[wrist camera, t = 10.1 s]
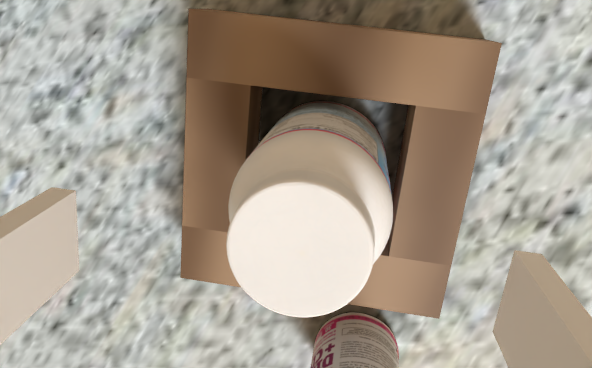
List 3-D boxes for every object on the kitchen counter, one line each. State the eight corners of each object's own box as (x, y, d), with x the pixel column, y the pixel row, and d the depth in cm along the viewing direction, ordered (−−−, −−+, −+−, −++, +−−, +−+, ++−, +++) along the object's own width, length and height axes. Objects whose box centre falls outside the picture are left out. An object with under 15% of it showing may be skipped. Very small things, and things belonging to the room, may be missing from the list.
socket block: (198, 251, 29) (180, 277, 26) (208, 9, 24) (188, 8, 22) (431, 287, 28) (439, 318, 25) (485, 39, 23) (501, 42, 20)
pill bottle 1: (350, 231, 27) (341, 369, 17) (248, 179, 27) (172, 286, 16) (408, 132, 25) (439, 218, 15) (298, 75, 25) (248, 122, 14)
